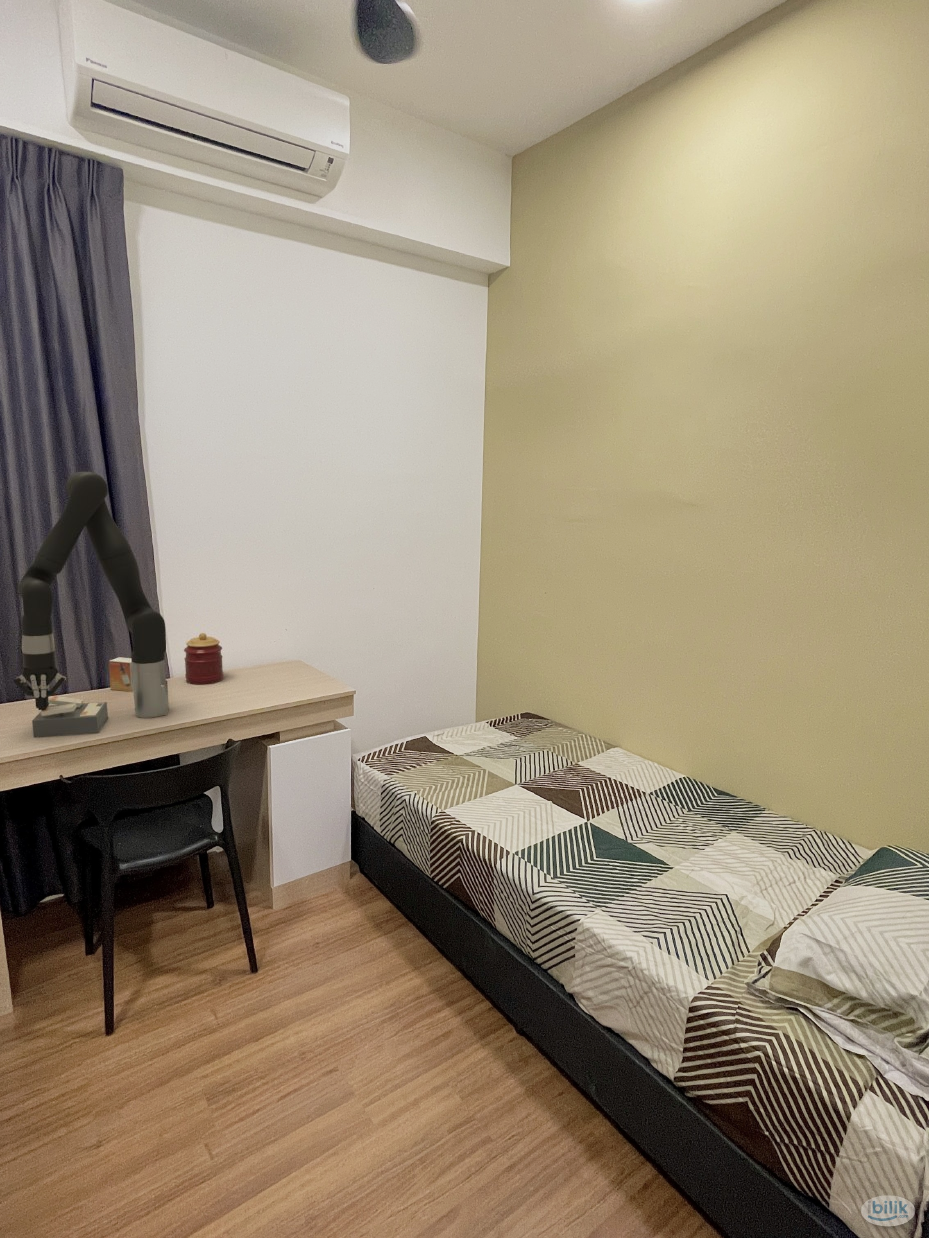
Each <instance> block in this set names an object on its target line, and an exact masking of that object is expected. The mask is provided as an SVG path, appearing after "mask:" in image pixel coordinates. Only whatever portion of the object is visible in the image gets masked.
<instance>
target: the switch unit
mask: <svg viewBox="0 0 929 1238" xmlns="http://www.w3.org/2000/svg"><path fill="white" fill-rule="evenodd" d="M54 706H61V705H56V704H49V706H48V707H54ZM108 715H109V714H108V703H107V701H102V702H86V703H85V702H83V704H82V705H81V706H80V707H76V709H75V710H74V711H71V712H65V713H58V714H52V715H46V716H41V711H40V712H39V713H38V714H37V715H36V716H35V717H33V719H32V720H31V723H32V733H33V738H35V739H36V738H48V737H59V736H60V737H62V736H63V737H64V736H77V735H91V734H99V732H100V731H101V730H102V727H103V726H104V725H105V723H106V721H107V720H108V717H109V716H108Z"/></svg>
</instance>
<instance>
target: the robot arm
mask: <svg viewBox="0 0 929 1238" xmlns="http://www.w3.org/2000/svg"><path fill="white" fill-rule="evenodd" d="M65 488H66V493H67V495H68V499H67V502H66V505H65V507H64V510H63V512H62V513H61V515H60V517H59V518H58V520H57V521H56V523H55V524H54V525H53V527H52V528H51V530H50V531H49V532H48V534H47V535H46V537H45V538H44V540H43V542H42V544H41V546H40V548H39V549H38V552H37V554H36V556H35V558H34V560H33V562H32V564H31V565H30V566H29V568H28V569H27V571H26V572H25V573H24V575H23V576H22V578H21V580H20V582H19V584H18V587H17V592H18V595H19V596H20V598H21V600H22V609H23V615H22V617H21V630H22V631H21V632H22V633H21V634H22V636H21V637H22V638H21V651H22V662H23V663H22V666H23V669H22V672H21V674H20V675H19V676H16V678H15V679H14V680H13V683H14V684H15V685H17V687H18V688H19V689H20V690H21V691H23V693H25V695H26V696H28V697H34V699H35V700H34V702H35V708H36V709H38V711H42V710H45V709H46V708H47V707H48V706H49V705H50V704H49V700H50V699H49V696H54V694H55V693H56V692H57V691H58V689H59V688H60V687H61V686H62V685H63V684H64V682H65V681H66V680H67V675H62V674H61V673H59V671H58V669H57V667H56V666H57V665H56V664H57V663H56V650H55V638H54V634H53V633H54V632H53V631H54V630H53V620H52V613H53V604H54V603H53V602H54V601H53V600H54V599H53V598H54V597H53V590H52V587H51V585H52V584H53V582H54V580H55V578H56V576H57V575H60V573H61V572H62V571H63V569H64V568H65V566H66V564H67V562H68V560H69V558H70V557H71V556H70V555H71V554H72V552H73V549H74V548H75V546H76V544H77V542H78V539H79V538H80V536H81V534H82V532H83V530H84V528H86V530H87V533H88V537H89V540H90V542H91V545H92V547H93V550H94V553H95V555H96V557H97V560H98V563H99V565H100V567H101V569H102V571H103V573H104V575H105V578H106V579H107V581H108V584H109V585H110V586H111V589H112V590H113V592H114V594H115V595H116V597H117V599H118V603H119V605H120V608H121V611H122V614H123V617H124V618H123V619H124V621H125V624H126V627H127V629H128V630H129V632H130V633H131V634H132V647H133V648H132V651H131V653H130V658H131V661H132V675H133V690H134V691H133V699H134V700H133V702H134V715H135V716H136V717H137V718H142V719H145V718H146V719H147V718H148V719H149V718H157V717H162V716H167V715H168V711H169V710H170V705H169V704H170V703H169V691H168V690H169V688H168V680H167V678H166V677H167V676H166V675H167V674H166V659H165V657H166V656H165V655H166V650H167V632H166V622H165V619H164V617H163V616H162V615H161V614H160V613H159V612H157V611H155V610H154V609H153V607H152V606H151V604H150V603H149V600H148V599H147V597H146V595H145V593H144V589H143V586H142V582H141V575H140V569H139V566H138V561H137V560H136V557H135V554H134V553H133V550H132V548H131V545H130V543H129V542H128V539H127V538H126V536H125V535H124V533H123V532H122V530H121V529H120V527H119V526H118V525H117V523H116V522H115V521H114V518H113V516H112V515H111V513H110V510H109V508H108V505H107V502H106V497H107V496H108V492H109V487H108V484H107V482H106V480H105V478H103V477H102V476H101V475H99V474H98V473H95V472H92V471H77V472H74V473H72V474H71V475H70V476H69V477H68V478H67V479H66V484H65ZM54 679H55V684H54V685H53V686H52V688H51V689H50V686H51V685H50V684H51V683H52V682H53V680H54ZM28 683H29V684H30V685H31V686H30V685H29V684H28Z"/></svg>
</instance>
